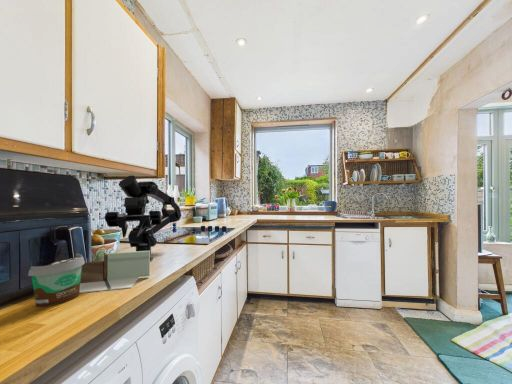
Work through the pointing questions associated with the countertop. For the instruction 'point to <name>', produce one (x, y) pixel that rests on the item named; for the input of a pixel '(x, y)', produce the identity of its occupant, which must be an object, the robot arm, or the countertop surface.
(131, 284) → the card
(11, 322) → the countertop surface
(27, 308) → the countertop surface
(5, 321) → the countertop surface
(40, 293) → the food container
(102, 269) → the fixed fence
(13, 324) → the countertop surface
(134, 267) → the gate panel
